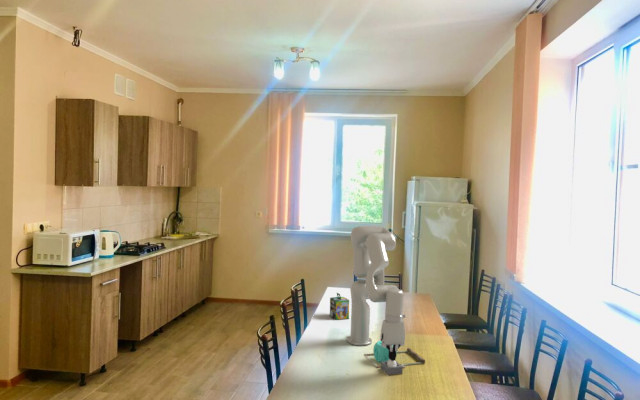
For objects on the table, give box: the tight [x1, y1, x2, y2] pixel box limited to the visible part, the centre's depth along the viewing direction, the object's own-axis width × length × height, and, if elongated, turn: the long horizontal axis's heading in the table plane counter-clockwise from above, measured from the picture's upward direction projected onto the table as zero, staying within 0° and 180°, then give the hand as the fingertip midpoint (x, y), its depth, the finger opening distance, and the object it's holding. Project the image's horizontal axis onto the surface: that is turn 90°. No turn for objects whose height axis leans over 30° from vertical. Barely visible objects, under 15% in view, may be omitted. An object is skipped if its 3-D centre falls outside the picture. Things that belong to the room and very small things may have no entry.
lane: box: [363, 347, 426, 369], centre depth 207 cm, size 20×24×2 cm
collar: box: [380, 360, 404, 376], centre depth 194 cm, size 7×7×3 cm
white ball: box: [387, 359, 397, 367], centre depth 194 cm, size 4×4×4 cm
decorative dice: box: [372, 340, 398, 364], centre depth 206 cm, size 8×8×8 cm
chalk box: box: [329, 292, 350, 321], centre depth 269 cm, size 9×9×15 cm
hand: (392, 359), depth 194 cm, fingers closed
